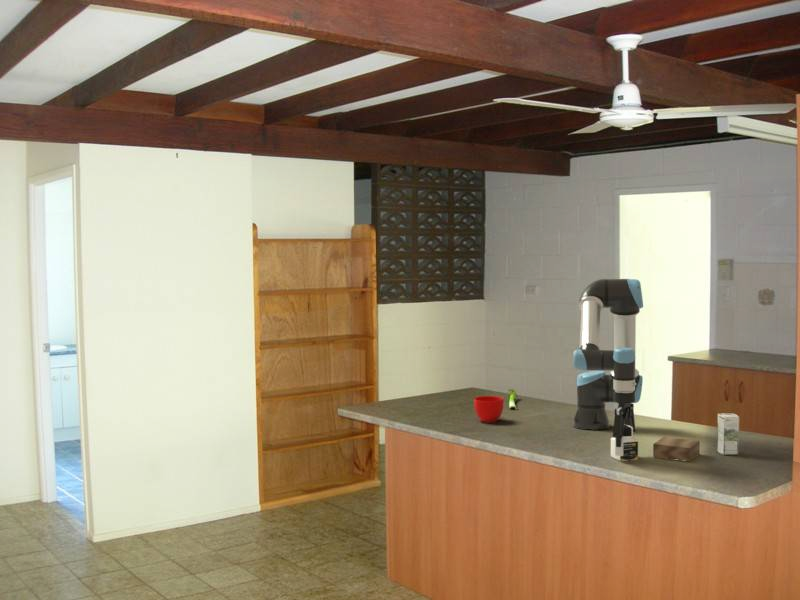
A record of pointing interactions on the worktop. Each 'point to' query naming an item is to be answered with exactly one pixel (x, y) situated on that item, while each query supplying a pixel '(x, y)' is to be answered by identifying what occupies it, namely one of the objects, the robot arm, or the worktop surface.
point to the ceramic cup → (488, 408)
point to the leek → (511, 398)
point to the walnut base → (676, 448)
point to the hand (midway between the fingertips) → (624, 452)
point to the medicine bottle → (626, 446)
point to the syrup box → (728, 434)
